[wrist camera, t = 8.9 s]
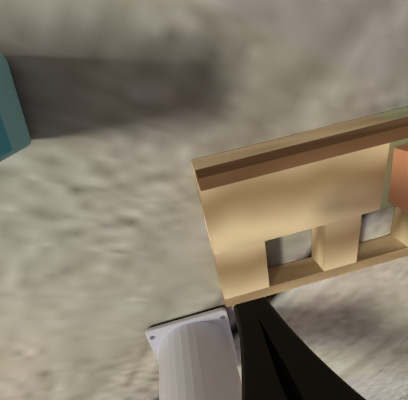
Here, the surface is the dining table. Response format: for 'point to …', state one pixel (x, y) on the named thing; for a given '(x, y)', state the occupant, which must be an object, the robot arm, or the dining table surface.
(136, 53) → the dining table surface
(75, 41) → the dining table surface
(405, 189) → the block
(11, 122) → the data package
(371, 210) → the trap board
